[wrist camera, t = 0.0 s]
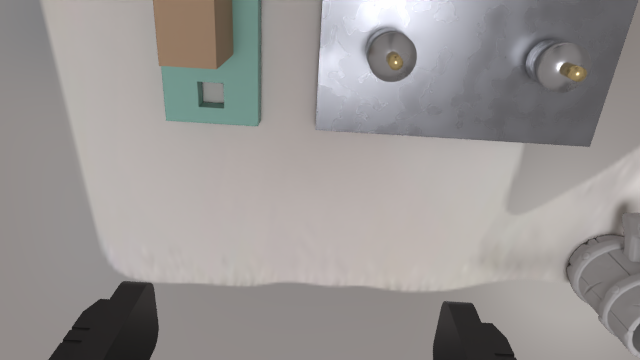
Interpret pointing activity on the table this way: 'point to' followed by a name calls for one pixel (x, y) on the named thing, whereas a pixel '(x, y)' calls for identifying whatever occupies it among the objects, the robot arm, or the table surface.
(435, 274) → the table surface
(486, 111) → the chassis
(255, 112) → the board
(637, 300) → the mug
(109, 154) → the table surface
